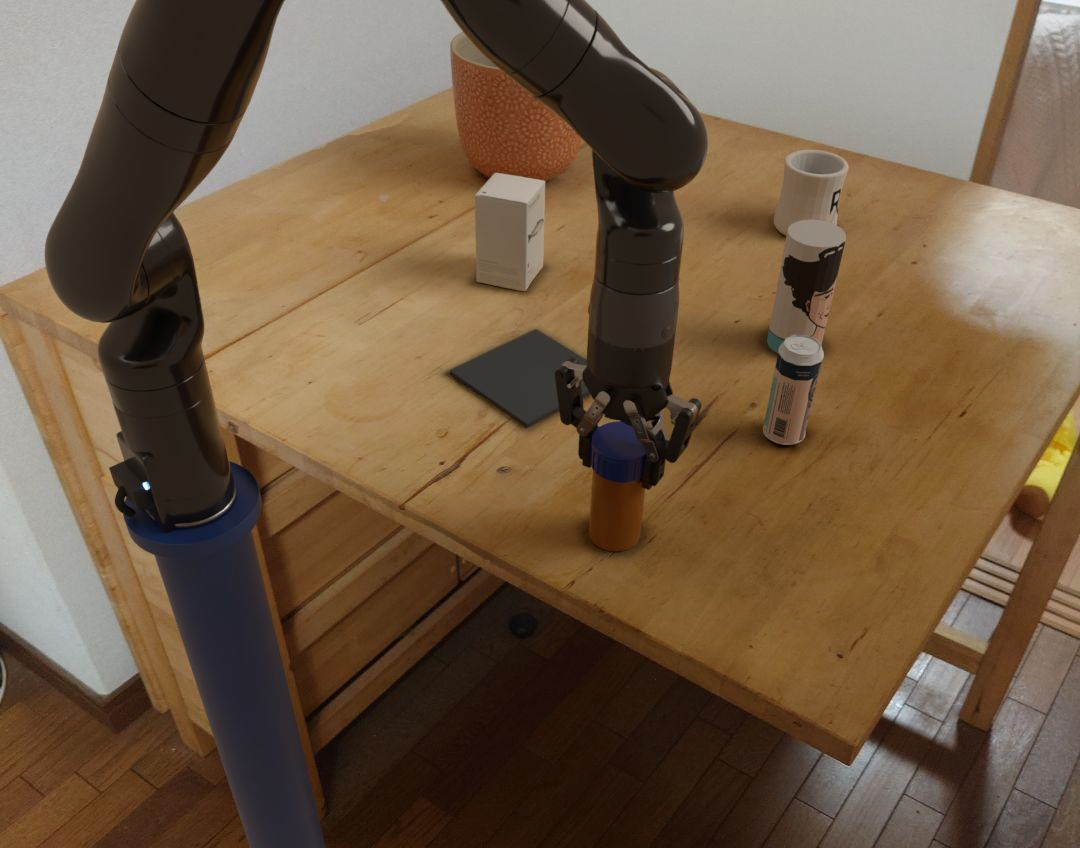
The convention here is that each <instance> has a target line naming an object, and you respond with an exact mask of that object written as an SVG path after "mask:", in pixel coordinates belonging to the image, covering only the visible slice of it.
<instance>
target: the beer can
mask: <svg viewBox="0 0 1080 848" xmlns="http://www.w3.org/2000/svg"><path fill="white" fill-rule="evenodd" d="M822 345H823V344H822ZM822 345H821V344H820V343H819V342H818V340H817V339H815V338H812V337H810V336H807V335H792V336H790V337H788V338H786V340H785V341H784V342H783V343H782V344H781V345H780V346H779V349H778V353H777V357H776V363H775V367H774V372H773V377H772V382H771V387H770V391H769V397H768V402H767V406H766V407H767V408H766V411H765V417H764V418H765V419H764V422H763V426H762V433H763V435H764V436H765V438H767V439H768V440H769V441H771V442H773V443H775V444H778V445H783V446H793V445H797V444H799V443H801V442H803V440H804V439H805V437H806V431H807V426H808V423H809V418H810V414H811V410H812V405H813V401H814V397H815V392H816V388H817V385H818V379H819V375H820V370H821V367H822V363H823V360H824V357H825V353H824V349H823V347H822Z"/></svg>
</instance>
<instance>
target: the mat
mask: <svg viewBox="0 0 1080 848" xmlns="http://www.w3.org/2000/svg"><path fill="white" fill-rule="evenodd" d="M571 357H572V358H575V359H576V360H577V361H578V363H579V364H580V365H585V366H587V358H584V357H582V356H581V355H579V354H578V353H576V352H575V351H573V350H571V349H569V348H568V347H566V346H565V345H563V344H562V343H560V342H558V341H556V340H555V339H553V338H551V337H550V336H549V335H546V333H544V332H542V331H541V330H539V329H537V328H535V329H534V330H531V331H528V332H526V333H524V334H522V335H520V336H518V337H516V338H514V339H512V340H510V341H508V342H506V343H504V344H501V345H500V346H497V347H495V348H493V349H490V350H489V351H487V352H485V353H482V354H480V355H479V356H477V357H474V358H472V359H470V360H468V361H466V362H463V363H462V364H460V365H457V366H455V367H453V368H451V369H449V375H450V376H451V377H453V378H454V379H456V380H457V381H458V382H460V383H461V384H463V385H465V386H466V387H468V389H470V390H472V391H473V392H474V393H476V394H477V395H479V396H480V397H481V398H483V399H485V400H486V401H488V403H490V404H492V405H493V406H495V407H496V408H498V409H499V410H500V411H502V412H503V413H505V414H507V416H509V417H511V418H512V419H513V420H515V421H516V422H518V423H519V424H520V425H522V426H524V427H525V428H529V427H532V426H533V425H534V424H537V423H538V422H540V421H542V420H544V419H546V418H548V417H550V416H551V415H553V414H555V413H557V412H559V404H558V396H557V389H556V381H555V371H556V370H557V369H558V368H559V367H560V366H561V365H562V364H563V363H564V362H565V361H567V360H568V359H569V358H571ZM581 389H582V398H583V399H584V398H586V397H587V396H588V395H591V394H590V392H589V390H588V389H587V387H586V385H585V383H584V381H583V382H582V383H581Z"/></svg>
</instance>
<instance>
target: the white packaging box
mask: <svg viewBox="0 0 1080 848" xmlns="http://www.w3.org/2000/svg"><path fill="white" fill-rule="evenodd" d="M545 204H546V181H543V180H538V179H532V178H526V177H520V176H514V175H508V174H501V173H494V174H493V175H492V177H491V178H488V180H486V182H485V183H484V184H483V185H482V186H481V187H480V188H479V189H478V191H477V192H476V193H474V226H475V230H474V231H475V232H474V233H475V268H476V269H475V275H476V277H475V279H476V280H475V281H476V282H477V283H480V284H485V285H491V286H494V287H500V288H504V289H509V290H515V291H519V292H525V291H527V290H528V288H529V286H530V285H531V284H532V282H533V281H534V279H535V278H536V276H537V275H538V274H539V272H540V271H541V270H542V269H543V268H544V253H545V217H546V215H545V214H546V207H545V206H546V205H545Z"/></svg>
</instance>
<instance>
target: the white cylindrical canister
mask: <svg viewBox="0 0 1080 848" xmlns="http://www.w3.org/2000/svg"><path fill="white" fill-rule="evenodd" d="M846 240H847V233H846V231H844V229H843V228H841V227H840V226H838V225H835V224H832V223H830V222H826V221H821V220H801V221H797V222H795V223H793V224H791V225H790V226H789V228H788V231H787V236H785V241H784V247H783V253H782V257H781V263H780V268H779V272H778V273H779V274H778V279H777V283H776V289H775V295H774V299H773V301H774V302H773V304H772V305H773V306H772V311H771V316H770V320H769V327H768V331H767V337H766V343H767V345H768V347H769V348H770V349H771V350H772V351H773V352H774V353H776V354H778V349H779V346H780V345H781V344H782V343H783V342H784V341H785V340H786V338H788V337H790V336H792V335H807V336H810V337H812V338H815V339H817V340H818V342H819V343H820V344H821V345H823V341H824V336H825V333H826V327H827V323H828V318H829V315H830V310H831V306H832V302H833V298H834V293H835V288H836V284H837V280H838V276H839V271H840V267H841V263H842V258H843V254H844V249H845V246H846Z"/></svg>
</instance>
